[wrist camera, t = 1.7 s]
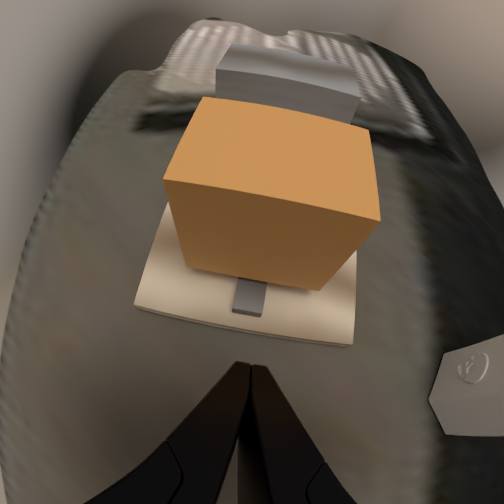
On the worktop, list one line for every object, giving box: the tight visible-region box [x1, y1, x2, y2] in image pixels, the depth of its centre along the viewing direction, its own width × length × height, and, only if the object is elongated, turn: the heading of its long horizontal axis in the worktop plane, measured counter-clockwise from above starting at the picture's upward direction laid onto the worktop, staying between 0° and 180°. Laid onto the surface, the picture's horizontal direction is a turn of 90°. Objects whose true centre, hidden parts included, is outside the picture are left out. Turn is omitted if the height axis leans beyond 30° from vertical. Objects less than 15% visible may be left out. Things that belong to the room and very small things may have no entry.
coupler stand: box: [134, 44, 361, 347], centre depth 22 cm, size 24×16×9 cm, turn 170°
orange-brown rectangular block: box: [163, 97, 381, 291], centre depth 16 cm, size 6×9×9 cm, turn 80°
